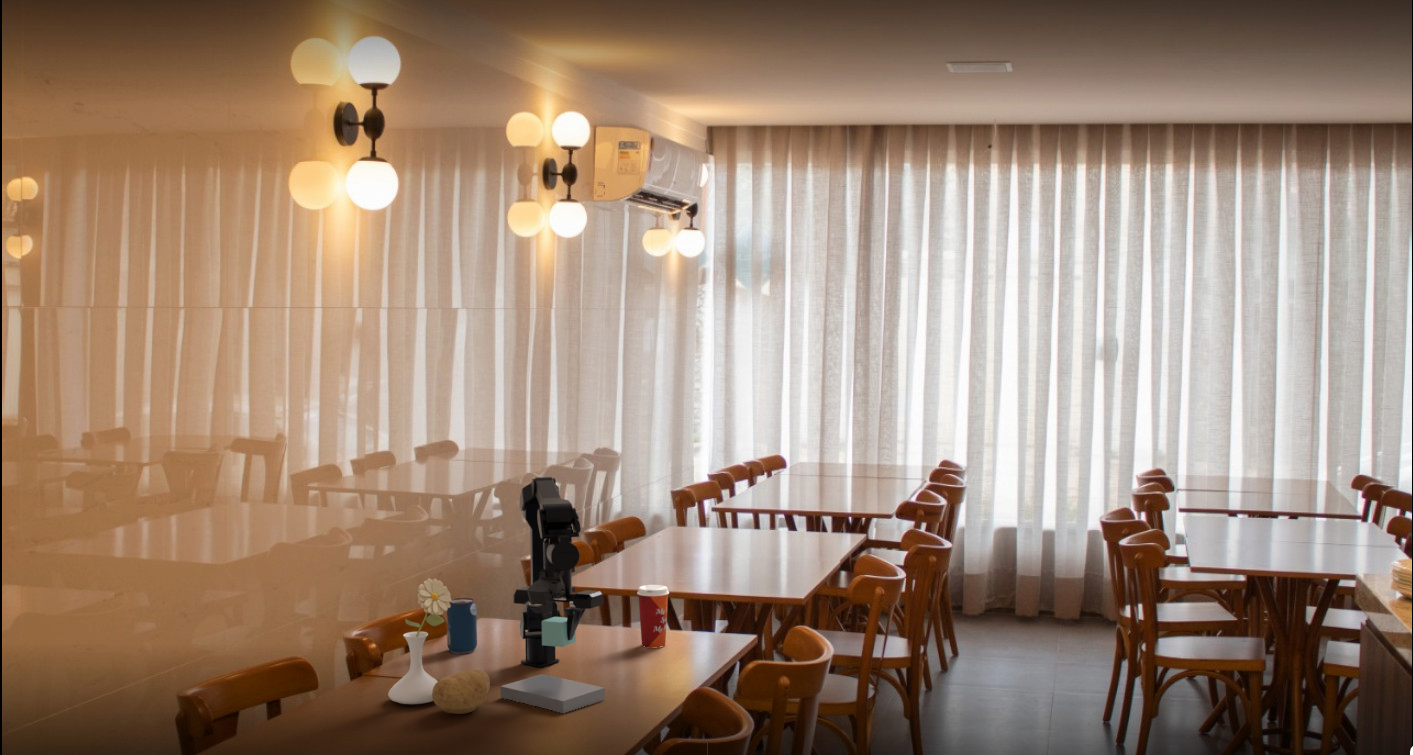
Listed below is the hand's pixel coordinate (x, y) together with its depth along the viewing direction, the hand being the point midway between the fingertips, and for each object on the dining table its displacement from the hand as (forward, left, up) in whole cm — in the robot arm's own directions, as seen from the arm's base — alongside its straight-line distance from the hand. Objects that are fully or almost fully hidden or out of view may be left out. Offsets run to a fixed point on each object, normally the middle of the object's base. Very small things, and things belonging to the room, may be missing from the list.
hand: (558, 638), depth 273 cm
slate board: (+1, -3, -12) cm, 12 cm away
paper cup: (-12, +44, -12) cm, 48 cm away
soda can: (-45, +13, -12) cm, 49 cm away
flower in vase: (-20, -20, -12) cm, 31 cm away
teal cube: (0, 0, -1) cm, 1 cm away
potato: (-7, -20, -12) cm, 24 cm away
